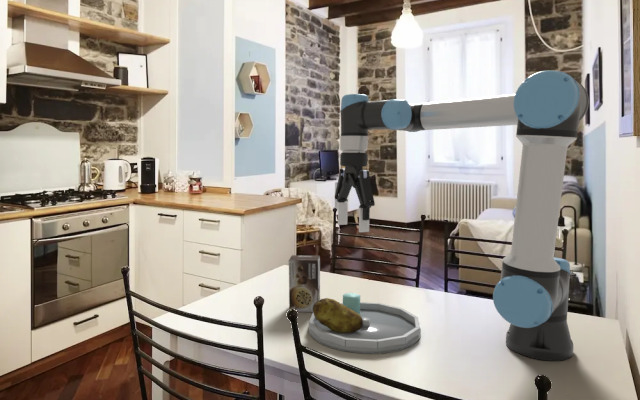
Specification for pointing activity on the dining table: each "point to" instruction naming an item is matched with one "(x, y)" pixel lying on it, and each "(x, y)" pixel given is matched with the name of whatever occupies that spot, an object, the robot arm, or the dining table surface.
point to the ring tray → (372, 331)
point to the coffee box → (304, 282)
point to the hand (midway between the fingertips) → (352, 228)
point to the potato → (337, 316)
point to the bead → (352, 301)
